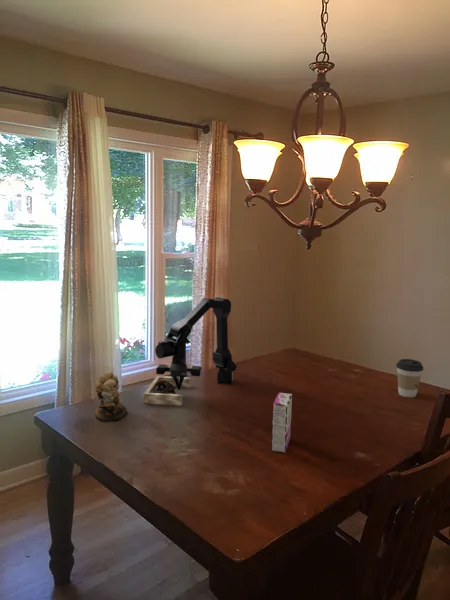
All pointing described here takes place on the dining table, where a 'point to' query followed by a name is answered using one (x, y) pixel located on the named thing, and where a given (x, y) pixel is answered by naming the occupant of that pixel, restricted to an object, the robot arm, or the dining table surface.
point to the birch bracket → (165, 398)
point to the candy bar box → (281, 422)
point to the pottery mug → (164, 387)
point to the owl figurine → (109, 399)
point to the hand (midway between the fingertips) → (179, 389)
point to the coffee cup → (408, 376)
